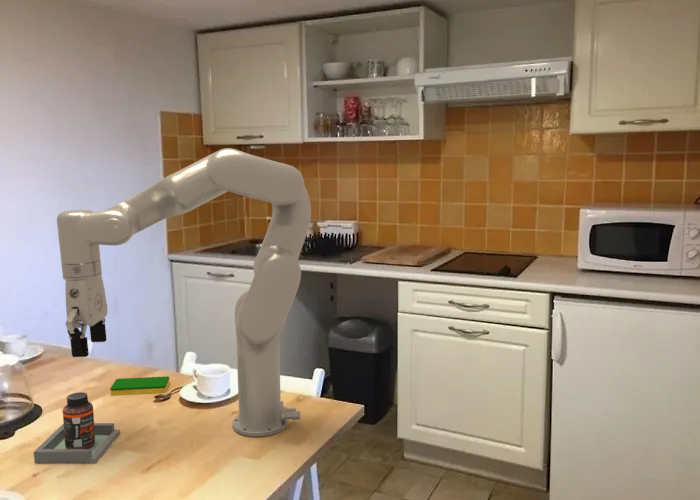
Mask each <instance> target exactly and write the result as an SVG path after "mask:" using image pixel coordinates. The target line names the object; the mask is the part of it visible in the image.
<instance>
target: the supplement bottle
mask: <svg viewBox="0 0 700 500" xmlns="http://www.w3.org/2000/svg"><path fill="white" fill-rule="evenodd" d="M62 420H63V424H64V436H65V447H66V449H88V448H90V447H91V446H93V445H94V443H95V430H94V423H95V415H94V406H93V403H92V402H89V398H88V393H87V392H84V391H82V392H78V391H77V392H72V393H70V394H68V395H67V396H66V405H65V406H64V407H63V409H62Z"/></svg>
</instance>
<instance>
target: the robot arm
mask: <svg viewBox="0 0 700 500" xmlns="http://www.w3.org/2000/svg"><path fill="white" fill-rule="evenodd" d="M228 192H230V193H233V194H236V195H240V196H243V197H247V198H251V199H255V200H258V201H263V202H267V203H270V204H271V205H272V213H271V218H270V221H269V223H268V226H267V230H266V232H265V233H266V234H265V235H264V238H263V241H262V243H261V245H260V247H259V248H260V249H259V250H258V253H257V254H256V257H255V259H254V261H253V273H254V275H253V278H252V280H251V284H250V286H249V289H248V290H246V291H245V292H243V293H242V294H241V295H240V296H239V297H238V299H237V300H236V301H237V302H236V303H235V306H234V323H235V324H234V325H235V337H236V340H235V341H236V360H237V361H236V366H237V369H236V371H237V391H238V392H237V393H238V394H237V395H238V397H237V398H238V415H237V416H236V417H234V419H233V420H232V423H231V424H232V430H234V431H235V433H238V434H240V435H242V436H246V437H255V438H258V437H267V436H272V435H275V434H277V433H280V432H282V431H283V430H285V429H286V428H287V427H288V425H289V420H294V421H297V420H298V421H299V420H301V411H300V410H297V407H289V408H288V407H286V406H284V400H283V401H281V363H280V359H281V358H280V357H281V353H280V347H281V346H280V334H281V332H282V330H283V328H284V325H285V323H286V320H287V319H288V315H289V314H290V311H291V308H292V305H293V304H294V301H295V298H296V295H297V293H298V290H299V286H300V284H301V279H302V270H301V265H300V264H299V257H300V254H301V252H302V249H303V246H304V243H305V240H306V238H307V234H308V231H309V228H310V223H311V218H312V217H311V216H312V205H311V201H310V195H309V192H308V190H307V188H306V185H305V180H304V177H303V174H302V173H301V171H300V170H298V168H296V167H294V165H290V164H287V163H283V162H279V161H275V160H271V159H268V158H265V157H261V156H257V155H253V154H251V153H248V152H244V151H241V150H239V149H235V148H231V147H227V148H221V149H219V150H217V151H215V152H213V153H211V154H208V155H206V156H205V157H203V158H201V159H199V160H197V161H196V162H195V161H194V162H193V163H191V164H189V165H187V166H185V167H183V168H181V169H180V170H177V171H175V172H174V173H171V174H169V175H168V176H166V177H164V178H162V179H161V180H160V181H158V182H156V183H155V184H154V185H152V186H150V187H149V188H146V189H144V190H142V191H141V192H139V193H137V194H135V195H133V196H131V197H129V198H126V199H124V200H123V201H121V202H118V203H117V204H114V205H113V206H111V207H109V208H107V209H105V210H101V211H100V210H99V211H95V212H94V211H93V210H89V209H72V210H66V211H65V210H64V211H61V212H60V213H59V214H57V217H56V224H57V236H58V244H59V252H60V254H59V255H60V264H61V273H62V279H63V280H64V281H65V283H64V284H65V285H64V286H65V288H64V289H65V308H66V309H65V310H66V321H65V326H66V329H67V334H68V339H69V341H70V348H71V357H73V358H86V357H89V356H90V355H89V353H90V352H89V343H88V336H86V333H87V328H88V327H89V333H90V334H89V335H90V341H91V343H105V342H106V341H107V332H106V331H107V330H106V316H107V315H108V304H107V297H106V289H105V285H104V281H103V277H102V276H103V273H102V262H101V252H100V251H101V249H100V246H101V245H102V246H121V245H123V244H126V243H127V242H129V241H130V240H131V238H132V237H134V235H136V234H138V233H139V232H141V231H143V230H145V229H147V228H150V227H151V226H153V225H154V224H157V223H159V222H161V221H163V220H165V219H169V218H171V217H175V216H181V215H184V214H186V213H189V212H191V211H193V210H195V209H197V208H199V207H200V206H202V205H204V204H206V203H208V202H210V201H213V200H214V199H216V198H218V197H220V196H222V195H224V194H226V193H228ZM79 328H80V329H81V330H80V329H79Z"/></svg>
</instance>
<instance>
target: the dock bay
mask: <svg viewBox="0 0 700 500" xmlns="http://www.w3.org/2000/svg"><path fill="white" fill-rule="evenodd" d="M94 430H95V443H94V445H93V446H91V447H90V448H88V449H66V447H65V436H64V423H63V424H61V426H59V427H58V428H57V429H56V430H55V431H54V432H53V433H52V434H51V435H50V436H49V437H48V438H46V440H45V441H43V442H42V443H41V444H40V445H39V446H38V447H37V448H36V449H35V450H33V460H34V464H96V463H97V462H98V461H99V460H100V458H102V456H103V455H104V454H105V453H106V451H107V450H108V449H109V447H110V446H111V445H112V444H113V443H114V442H115V440H116V439H117V438H118V437H119V436H120V434H121V430H120V429H115V422H94Z"/></svg>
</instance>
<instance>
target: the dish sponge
mask: <svg viewBox="0 0 700 500" xmlns="http://www.w3.org/2000/svg"><path fill="white" fill-rule="evenodd" d="M169 385H170V376H168V375H167V376H147V377H130V378H127V377H126V378H124V377H123V378H116V379H115V380H114V382H113V384H112V385H111V387H110V391H109V393H110V396H112V397H114V396H130V395H132V396H133V395H151V394H152V395H153V394H154V395H155V394H165V393H167V391H168V388H169Z"/></svg>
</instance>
